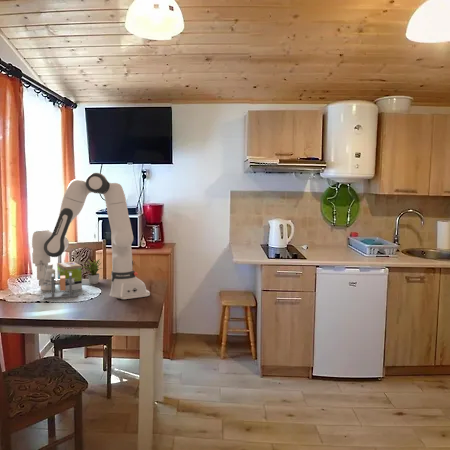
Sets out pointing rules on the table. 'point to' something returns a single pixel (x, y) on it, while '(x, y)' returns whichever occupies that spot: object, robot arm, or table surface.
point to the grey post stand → (61, 294)
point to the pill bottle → (48, 277)
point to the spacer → (62, 283)
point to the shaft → (56, 282)
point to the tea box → (76, 274)
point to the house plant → (93, 272)
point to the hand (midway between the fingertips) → (42, 284)
